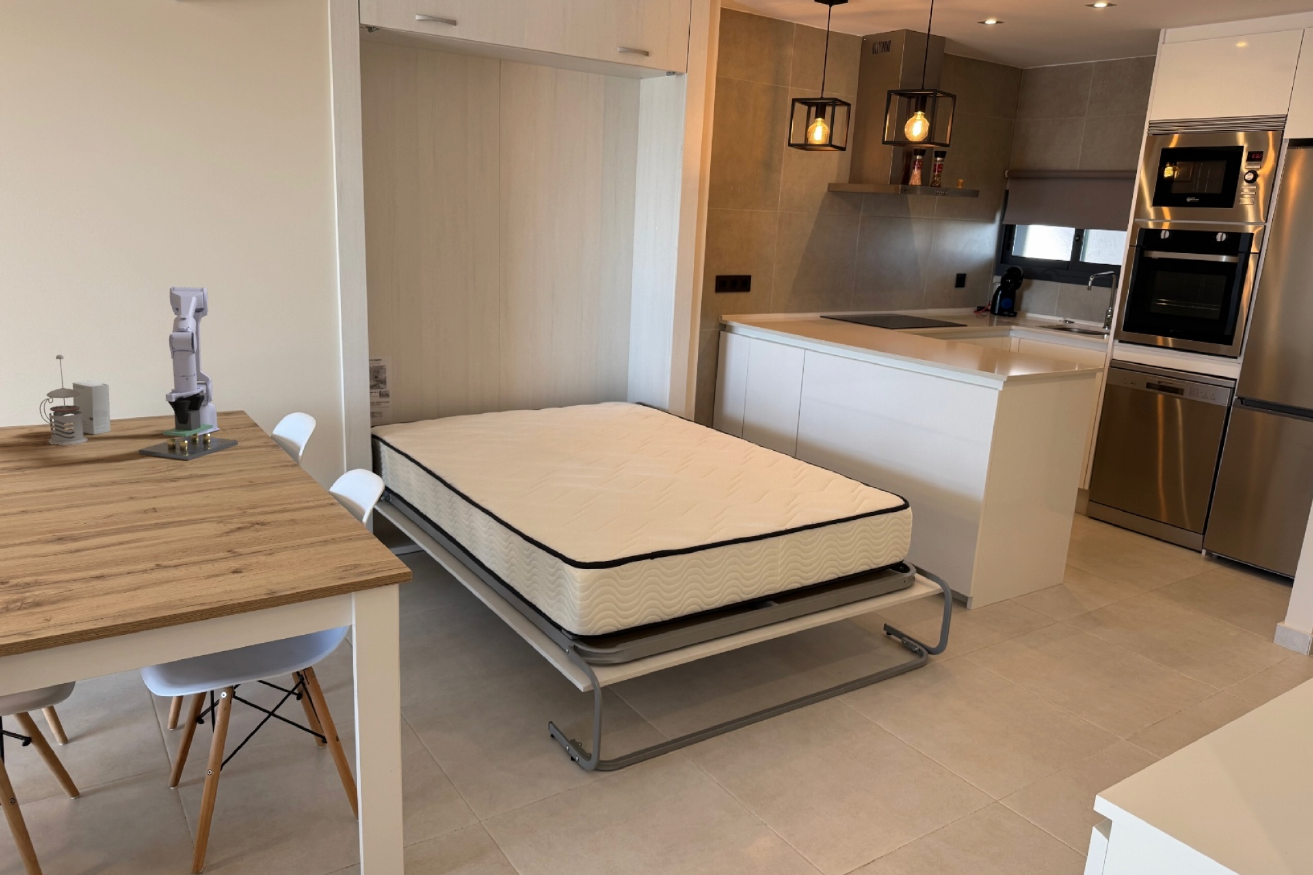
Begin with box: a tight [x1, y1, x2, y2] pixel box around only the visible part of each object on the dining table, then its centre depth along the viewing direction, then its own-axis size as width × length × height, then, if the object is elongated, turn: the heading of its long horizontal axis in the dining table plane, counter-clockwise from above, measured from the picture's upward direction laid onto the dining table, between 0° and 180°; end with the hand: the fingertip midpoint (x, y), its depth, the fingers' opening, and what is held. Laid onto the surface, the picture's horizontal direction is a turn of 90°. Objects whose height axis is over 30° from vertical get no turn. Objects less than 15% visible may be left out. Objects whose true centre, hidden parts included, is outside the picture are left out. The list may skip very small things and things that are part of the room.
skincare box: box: [72, 380, 111, 435], centre depth 268 cm, size 8×6×15 cm
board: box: [162, 410, 213, 437], centre depth 255 cm, size 12×7×6 cm, turn 171°
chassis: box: [138, 432, 239, 461], centre depth 257 cm, size 20×16×4 cm
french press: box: [39, 354, 89, 446], centre depth 255 cm, size 10×12×25 cm
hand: (188, 422), depth 255 cm, fingers closed on board, 4 cm apart
